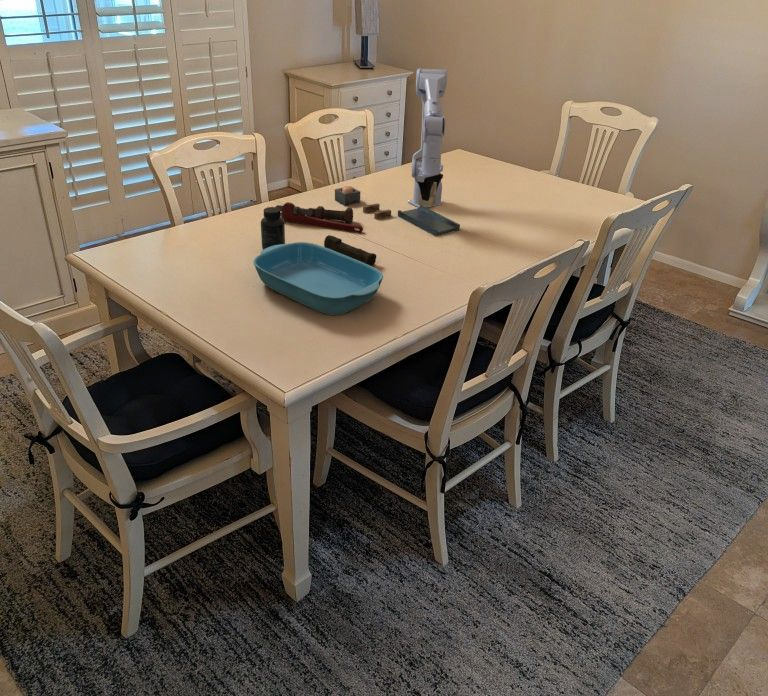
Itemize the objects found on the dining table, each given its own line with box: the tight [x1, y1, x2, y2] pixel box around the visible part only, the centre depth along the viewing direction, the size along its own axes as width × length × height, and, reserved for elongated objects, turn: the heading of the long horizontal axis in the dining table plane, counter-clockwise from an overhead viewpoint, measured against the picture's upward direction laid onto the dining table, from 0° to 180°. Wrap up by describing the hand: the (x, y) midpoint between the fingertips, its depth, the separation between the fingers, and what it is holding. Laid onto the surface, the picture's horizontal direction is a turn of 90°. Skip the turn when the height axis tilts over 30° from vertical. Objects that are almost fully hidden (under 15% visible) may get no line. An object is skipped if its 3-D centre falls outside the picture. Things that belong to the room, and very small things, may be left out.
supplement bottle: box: [260, 206, 286, 250], centre depth 199 cm, size 7×7×12 cm
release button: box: [341, 185, 354, 193], centre depth 238 cm, size 4×4×4 cm
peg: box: [419, 182, 437, 208], centre depth 220 cm, size 4×4×7 cm
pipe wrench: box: [274, 201, 364, 234], centre depth 217 cm, size 7×2×30 cm
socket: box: [362, 203, 392, 220], centre depth 229 cm, size 6×8×2 cm
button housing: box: [334, 185, 361, 207], centre depth 238 cm, size 6×6×4 cm
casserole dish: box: [253, 241, 384, 316], centre depth 179 cm, size 37×22×7 cm, turn 51°
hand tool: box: [323, 234, 377, 267], centre depth 199 cm, size 19×4×5 cm, turn 48°
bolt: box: [306, 205, 354, 224], centre depth 222 cm, size 6×5×15 cm
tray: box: [397, 205, 461, 237], centre depth 224 cm, size 10×20×2 cm, turn 36°
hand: (428, 198), depth 221 cm, fingers closed on peg, 4 cm apart
